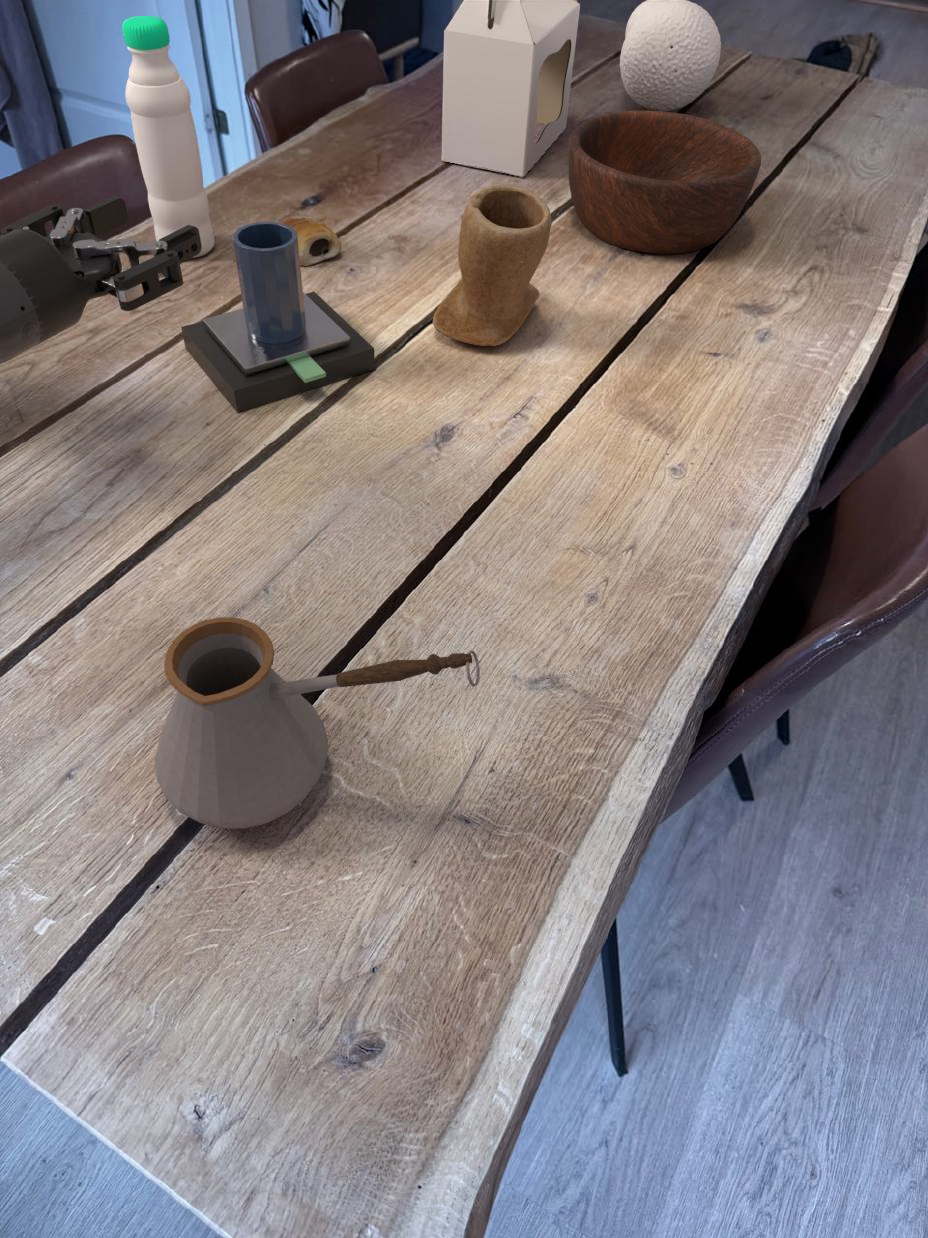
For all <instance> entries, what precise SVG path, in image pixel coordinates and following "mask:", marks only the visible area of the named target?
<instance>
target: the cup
mask: <svg viewBox="0 0 928 1238" xmlns="http://www.w3.org/2000/svg"><path fill="white" fill-rule="evenodd" d="M282 223H283V222H275V221H258V222H252V223H248V224H245V225H243V226H241V227H238V228H237V229H236V230H235V231H234V232H233V234H232V243H233V249H234V250H233V251H234V256H235V263H236V269H237V275H238V281H239V282H238V283H239V289H240V294H241V301H242V309H244V316H245V322H246V328H247V332H248V334H249V335H250V336H251V337H252V338H253V339H255V340H257V341H259V342H263V343H269V344H280V343H287V342H290V341H293V340H296V339H297V338H299V337H301V336H302V335H303V334H304V332H305V330H306V319H305V309H304V298H303V292H304V290H303V278H302V271H301V270H302V268H301V265H300V258H299V248H298V237H297V232H296V231H295V230H294V229H293V228H292V227H290V226H288V225H285V224H282Z"/></svg>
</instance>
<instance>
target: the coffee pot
mask: <svg viewBox="0 0 928 1238" xmlns="http://www.w3.org/2000/svg"><path fill="white" fill-rule="evenodd" d="M164 657H165V658H164V662H163V668H164V675H165V677H166V679H167V681H168V682H169V684H170V685H171V687H173V688H174V689H175V690H176V694H175V697H174V698H173V702H172V705H171V707H170V710H169V712H168V715H167V718H166V720H165V723H164V726H163V728H162V731H161V734H160V737H159V739H158V744H157V749H156V753H155V756H154V765H155V774H156V780H157V783H158V785H159V787H160V789H161V791H162V793H163V796H164V797H165V798H166V799H167V801H168V802H169V803H171V804H172V806H173V807H175V809H176V810H177V811H178V812H179V813H181V814H182V815H185V816H186V817H188V818H190V819H192V820H193V821H196V822H198V823H199V824H202V825H207V826H211V827H214V828H219V829H224V830H229V829H230V830H231V829H234V830H235V829H236V830H237V829H249V828H253V827H258V826H260V825H264V824H265V825H266V824H268V823H270V822H272V821H274V820H276V819H278V818H280V817H282V816H285V815H287V814H288V813H289V812H291V811H292V810H293V809H294V808H296V807H297V806H298V805H299V804H300V803H302V802H303V801H304V800H305V799H306V798H307V796H308V795H309V793H311V791H312V789H314V786H316V784H317V783H318V781H319V780H320V778H321V775H322V772H323V770H324V767H325V765H326V762H327V759H328V745H329V744H328V743H329V739H328V735H327V731H326V727H325V724H324V721H323V720H322V718H321V716H320V715H319V713H318V712H317V710H316V709H315V707H314V705H313V704H312V703H310V702H309V701H308V700H307V699H306V698H305V697H303V694H307V693H312V692H318V691H323V690H328V689H334V688H347V687H358V686H365V685H366V686H367V685H376V684H385V683H394V682H402V681H405V680H406V679H410V678H414V677H416V676H420V675H423V674H426V673H429V674H431V675H434V676H435V675H436V676H437V675H438V674H440V672H442V670H445V669H449V668H450V669H455V670H457V669H460V668H462V667H465V671H466V678H467V681H468V682H469V685H470V686H471V687H473V688H474V687H477V686H478V685H479V682H480V678H481V675H480V673H481V672H480V671H481V670H480V668H481V667H480V662H479V659H478V655H477V653H476V652H475V650H473V649H472V650H469V651H468V652H467V653H464V652H454V653H450V654H449V655H448V656H439V655H437V654H436V653H431V654H430V655H428V657H427V658H424V659H423V658H422V659H421V658H420V659H394V660H389V661H385V662H381V663H380V662H379V663H376V664H371V665H368V666H363V667H359V668H355V669H350V670H346V671H342V672H338V673H337V674H331V675H323V676H316V677H310V678H309V677H308V678H303V679H295V680H289V681H288V680H287V681H286V680H285V679H284V678H283V677H282V676H281V675H280V674H278V673H277V672H276V671H275V670H274V669H273V668H272V667H273V664H274V659H275V649H274V644H273V641H272V640H271V638H270V636H269V635H268V634H267V632H266V630H264V629H263V628H261V626H259V625H257V624H256V623H254V622H252V621H250V620H247V619H243V618H239V617H234V616H224V617H223V616H220V617H214V618H209V619H204V620H202V621H200V622H197V623H195V624H192V625H191V626H189V627H188V628H186V629H185V630H183V631H181V633H179V634H178V636H176V637H175V638H174V639H173V640H172V641H171V644H170V645H169V647H168V649H167V650H166V653H165V656H164ZM473 659H474V663H475V669H476V670H475V671H476V672H475V673H476V678H475V682H474V681H473V679H472V677H471V670H470V669H471V668H470V665H471V664H472V663H473Z"/></svg>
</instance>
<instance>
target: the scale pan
mask: <svg viewBox="0 0 928 1238" xmlns="http://www.w3.org/2000/svg"><path fill="white" fill-rule="evenodd" d="M303 298H304V309H305V319H306V330H305V332H304V334H303V335H302V336H301V337H299V338H297V339H296V340H293V341H290V342H287V343H280V344H269V343H263V342H259V341H257V340H255V339H253V338H252V337H251V336H250V335H249V334H248V332H247V328H246V322H245V316H244V309H243V308H240V309H236V310H235V309H234V310H232V311H228V312H224V313H221V314H217V315H214V316H210V317H206V318H202V321H203V325H204V327H205V328H206V329H207V330H208V331H209V332H210V334H211V335H212V336H213V337H214V338H215V339H216V341H217V342H218V343H219V344H220V345H221V346H222V348H223V349H224V350H225V351H226V352H227V353H228V355H229V356H230V357H231V358H232V359H233V360H234V362H235V363H236V364H237V365H238V366H239V367H240V369H241V370H242V371H243V372H244V373H245V374H246V375H248V374H252V373H255V372H258V371H262V370H265V369H268V368H272V367H275V366H278V365H282V364H285V363H288V362H292V361H295V360H298V359H302V358H305V357H308V356H312V355H315V354H318V353H322V352H325V351H328V350H332V349H335V348H338V347H342V346H345V345H348V344H351V340H350V337H349V336H348V335H347V334H346V333H345V332H344V331H343V330H342V329H341V328H340V327H339V326H338V325H337V324H336V323H335V322H334V321H333V320H332V319H331V318H330V317H329V316H328V315H327V314H326V313H324V312H323V311H322V310H321V309H320V308H319V307H318V306H317V305H316V304H315V303H314V302H313V301H312V300H311V299H310V298H309V297H308V296H307V295H306V293H305V292H304V291H303Z"/></svg>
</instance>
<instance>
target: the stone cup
mask: <svg viewBox="0 0 928 1238" xmlns="http://www.w3.org/2000/svg"><path fill="white" fill-rule="evenodd" d="M552 220H553V219H552V213H551V211H550V208H549V206H548V205H547V203H546V202H545V201H544V200H543V198H541V197H540V196H538V195H537V194H536V193H534V192H533V191H531V190H529V189H527V188H524V187H523V186H519V185H515V184H508V183H503V184H502V183H501V184H489V185H486V186H484V187H482V188H480V189H479V190H477V191H476V192H474V194H472V196H471V197H470V199H469V200H468V202H467V204H466V206H465V208H464V211H463V214H462V218H461V223H460V230H459V235H458V247H457V248H458V249H457V255H458V256H457V259H458V266H459V269H460V275H461V278H460V279H459V281H458V282H457V283H456V285H455V286H454V287H453V288H452V289H451V290H450V292H448V294H447V295H446V296H445V298H443V300H442V301H441V303H440V304H439V305H438V307H437V309H436V310H435V312H434V314H433V318H432V325H433V327H434V329H435V330H436V331H437V332H438V333H440V334H442V335H443V336H445V337H447V338H450V339H452V340H455V341H458V342H461V343H464V344H470V345H474V346H483V347H485V346H491V347H496V346H500V345H503V344H505V343H506V342H507V341H509V340H510V339H511V338H512V337H513V336H514V335H515V334H516V333H517V332H518V331H519V330H520V328H521V327H522V325H523V323H524V322H525V320H526V319H527V317H528V315H529V314H530V312H531V311H532V309H533V307H534V306H535V304H536V302H537V301H538V299H539V297H540V291H539V290H538V288H537V287H536V286H535V285H534V284H532V283H530V282H531V280H532V278H533V276H534V275H535V273H536V271H537V270H538V267H539V265H540V263H541V261H542V259H543V257H544V256H545V253H546V250H547V248H548V244H549V240H550V233H551V230H552V223H553V221H552Z"/></svg>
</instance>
